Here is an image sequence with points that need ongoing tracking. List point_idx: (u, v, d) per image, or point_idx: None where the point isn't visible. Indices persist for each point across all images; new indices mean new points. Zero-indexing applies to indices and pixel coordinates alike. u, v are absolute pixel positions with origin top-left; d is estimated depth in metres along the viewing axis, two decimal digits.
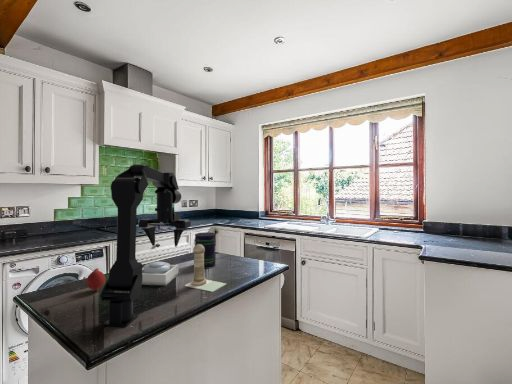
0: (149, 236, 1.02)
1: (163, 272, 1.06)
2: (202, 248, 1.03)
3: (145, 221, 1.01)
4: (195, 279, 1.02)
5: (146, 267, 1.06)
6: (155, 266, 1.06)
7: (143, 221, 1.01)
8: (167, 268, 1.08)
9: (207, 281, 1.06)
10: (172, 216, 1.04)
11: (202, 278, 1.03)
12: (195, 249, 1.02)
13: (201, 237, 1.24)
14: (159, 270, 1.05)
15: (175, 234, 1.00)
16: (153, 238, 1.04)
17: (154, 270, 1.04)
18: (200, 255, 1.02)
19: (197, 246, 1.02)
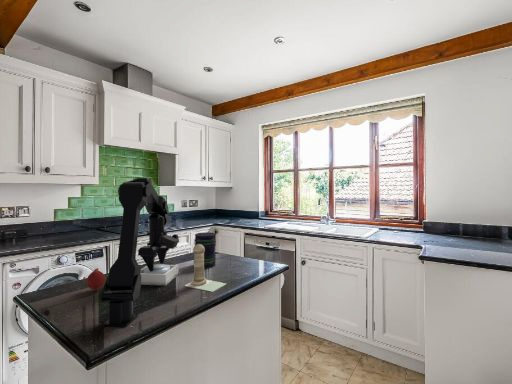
0: None
1: None
2: (202, 248, 1.03)
3: None
4: (195, 279, 1.02)
5: (146, 269, 1.06)
6: (155, 268, 1.06)
7: None
8: (167, 270, 1.08)
9: (207, 281, 1.06)
10: (156, 241, 1.06)
11: (202, 278, 1.03)
12: (195, 249, 1.02)
13: (201, 237, 1.24)
14: (159, 272, 1.05)
15: None
16: (161, 258, 1.14)
17: (154, 272, 1.04)
18: (200, 255, 1.02)
19: (197, 246, 1.02)
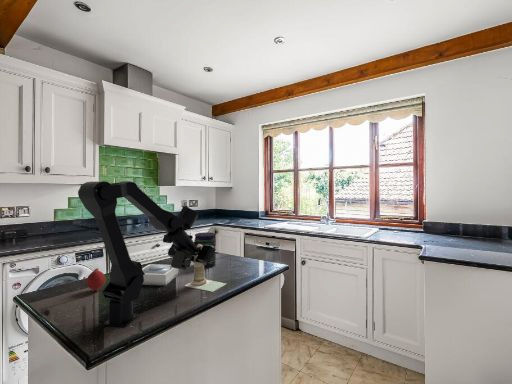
0: None
1: None
2: None
3: (206, 245, 0.98)
4: (195, 279, 1.02)
5: (146, 270, 1.06)
6: (155, 269, 1.06)
7: (208, 245, 0.97)
8: (167, 271, 1.08)
9: (207, 281, 1.06)
10: None
11: (202, 278, 1.03)
12: None
13: (201, 237, 1.24)
14: (159, 273, 1.05)
15: None
16: None
17: (154, 273, 1.04)
18: None
19: (197, 246, 1.02)
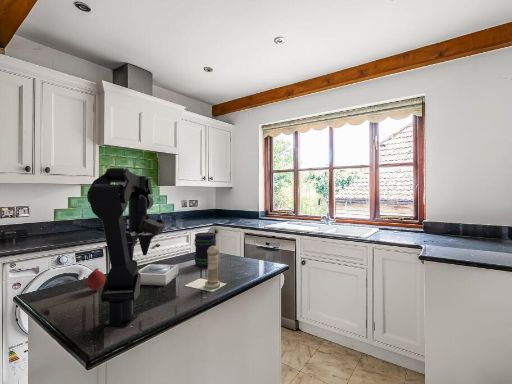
0: None
1: None
2: (217, 250, 1.00)
3: None
4: (209, 282, 0.99)
5: (146, 270, 1.06)
6: (155, 269, 1.06)
7: None
8: (167, 271, 1.08)
9: None
10: (137, 226, 0.88)
11: (216, 281, 1.00)
12: (209, 251, 0.99)
13: (201, 237, 1.24)
14: (159, 273, 1.05)
15: None
16: (144, 247, 0.95)
17: (154, 273, 1.04)
18: (215, 257, 0.99)
19: (212, 248, 0.99)
